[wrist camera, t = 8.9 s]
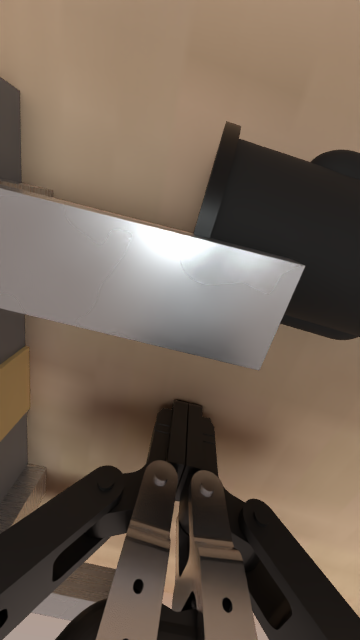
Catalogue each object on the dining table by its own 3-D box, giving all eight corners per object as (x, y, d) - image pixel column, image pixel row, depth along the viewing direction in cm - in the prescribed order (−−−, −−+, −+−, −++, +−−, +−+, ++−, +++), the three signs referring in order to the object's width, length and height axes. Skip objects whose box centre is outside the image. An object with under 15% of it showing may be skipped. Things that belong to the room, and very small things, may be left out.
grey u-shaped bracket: (248, 240, 10) (305, 266, 5) (159, 508, 17) (143, 635, 12) (30, 184, 10) (-165, 146, 4) (33, 480, 17) (-41, 597, 12)
